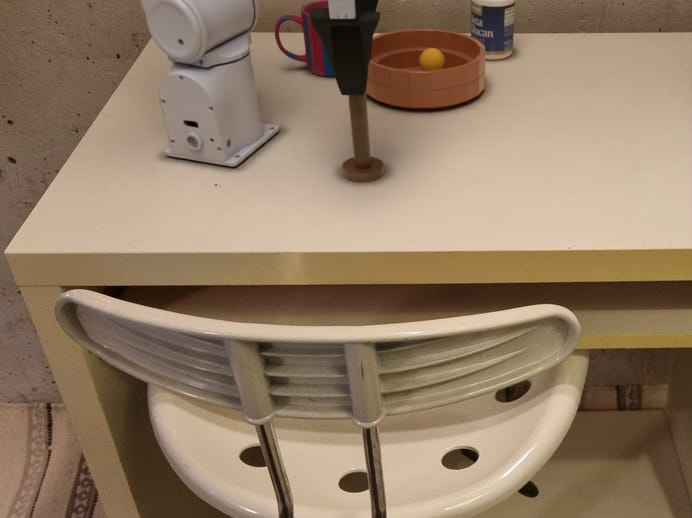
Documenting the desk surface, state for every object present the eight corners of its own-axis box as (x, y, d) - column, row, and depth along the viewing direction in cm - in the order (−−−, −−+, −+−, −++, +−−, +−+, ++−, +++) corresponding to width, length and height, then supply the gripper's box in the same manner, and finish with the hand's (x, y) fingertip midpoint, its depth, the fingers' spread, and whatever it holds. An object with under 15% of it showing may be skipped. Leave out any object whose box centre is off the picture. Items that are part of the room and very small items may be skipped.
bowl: (461, 120, 92) (462, 79, 89) (342, 103, 95) (338, 62, 92) (499, 75, 102) (500, 36, 99) (390, 60, 105) (388, 23, 102)
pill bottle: (462, 55, 107) (463, -28, 100) (482, 43, 110) (484, -38, 104) (501, 63, 105) (503, -21, 98) (519, 50, 108) (523, -32, 102)
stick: (374, 184, 80) (367, 91, 74) (335, 178, 81) (326, 85, 75) (390, 166, 83) (385, 75, 77) (353, 160, 84) (344, 69, 78)
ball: (440, 80, 99) (439, 54, 97) (416, 77, 99) (415, 51, 97) (448, 71, 101) (448, 46, 99) (424, 68, 101) (424, 43, 100)
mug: (364, 76, 101) (359, 16, 96) (279, 79, 100) (270, 19, 95) (361, 56, 106) (357, -1, 101) (281, 59, 105) (273, 1, 100)
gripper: (388, -70, 63) (398, 108, 71) (394, -110, 74) (402, 49, 82) (292, -71, 62) (314, 109, 71) (312, -110, 73) (329, 50, 82)
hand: (356, 77), depth 77 cm, fingers open, 7 cm apart
